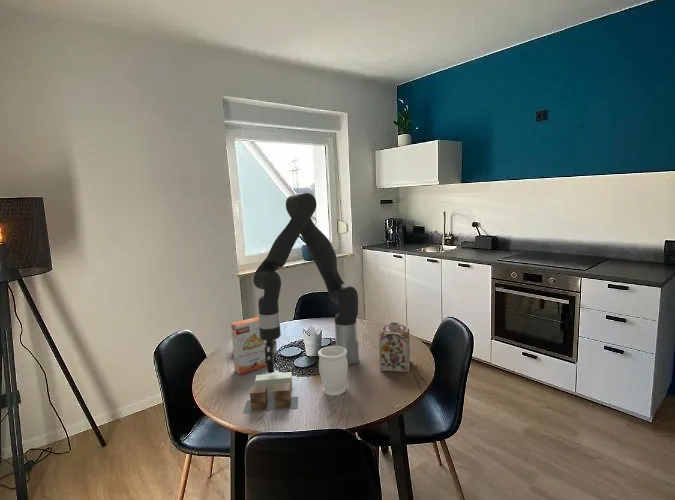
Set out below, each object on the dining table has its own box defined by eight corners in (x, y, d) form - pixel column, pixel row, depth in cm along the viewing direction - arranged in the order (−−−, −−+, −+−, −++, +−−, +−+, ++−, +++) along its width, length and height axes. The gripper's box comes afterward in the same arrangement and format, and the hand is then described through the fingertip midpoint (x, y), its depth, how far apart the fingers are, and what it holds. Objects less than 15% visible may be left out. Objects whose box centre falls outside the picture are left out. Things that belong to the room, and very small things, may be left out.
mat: (298, 397, 133) (298, 396, 133) (297, 409, 125) (297, 408, 125) (247, 401, 132) (246, 400, 132) (242, 414, 124) (242, 413, 124)
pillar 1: (268, 401, 131) (266, 384, 130) (266, 408, 126) (265, 392, 125) (253, 402, 130) (252, 386, 130) (251, 410, 125) (249, 393, 125)
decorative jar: (409, 373, 147) (408, 329, 145) (379, 371, 150) (378, 328, 147) (410, 360, 159) (409, 319, 156) (382, 358, 161) (381, 318, 159)
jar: (339, 400, 130) (336, 359, 127) (314, 393, 135) (312, 353, 133) (354, 386, 138) (352, 348, 136) (330, 380, 144) (328, 343, 142)
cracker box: (239, 375, 152) (235, 326, 149) (234, 370, 157) (230, 322, 154) (271, 365, 160) (267, 318, 157) (265, 361, 165) (261, 315, 162)
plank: (292, 385, 142) (291, 371, 141) (292, 391, 138) (291, 377, 137) (257, 388, 141) (256, 375, 140) (256, 394, 137) (255, 380, 136)
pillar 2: (291, 399, 131) (290, 383, 130) (290, 407, 126) (289, 390, 125) (276, 400, 131) (275, 384, 130) (275, 408, 126) (274, 391, 125)
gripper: (278, 330, 129) (280, 375, 131) (281, 318, 143) (283, 358, 145) (256, 331, 129) (259, 376, 131) (261, 319, 143) (264, 359, 145)
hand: (272, 367), depth 138 cm, fingers open, 8 cm apart
